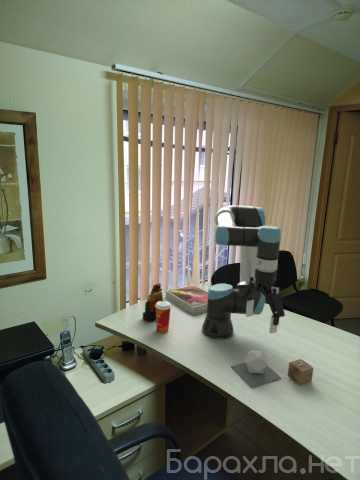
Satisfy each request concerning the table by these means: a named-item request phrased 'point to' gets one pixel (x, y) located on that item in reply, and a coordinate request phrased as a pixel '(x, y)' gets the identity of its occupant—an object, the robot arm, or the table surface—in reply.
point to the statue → (152, 303)
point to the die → (256, 362)
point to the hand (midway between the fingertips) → (260, 323)
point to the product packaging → (189, 298)
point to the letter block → (300, 372)
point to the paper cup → (162, 316)
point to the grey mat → (255, 375)
